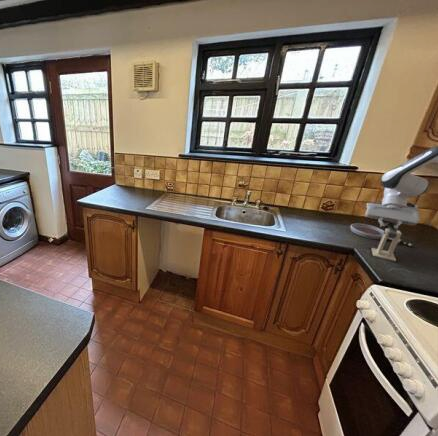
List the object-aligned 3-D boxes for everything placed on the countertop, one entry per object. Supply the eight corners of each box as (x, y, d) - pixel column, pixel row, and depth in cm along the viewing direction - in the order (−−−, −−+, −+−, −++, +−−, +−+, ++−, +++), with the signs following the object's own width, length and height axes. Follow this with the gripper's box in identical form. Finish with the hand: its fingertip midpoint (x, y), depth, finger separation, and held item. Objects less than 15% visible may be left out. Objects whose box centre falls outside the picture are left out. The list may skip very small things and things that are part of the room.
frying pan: (410, 247, 126) (346, 226, 146) (407, 252, 127) (344, 231, 148) (416, 238, 135) (356, 220, 156) (414, 243, 137) (354, 224, 157)
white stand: (371, 249, 127) (381, 225, 122) (391, 254, 123) (402, 229, 118) (373, 257, 120) (384, 232, 115) (395, 262, 116) (407, 236, 110)
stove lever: (382, 226, 128) (385, 220, 127) (391, 228, 126) (394, 222, 125) (386, 237, 118) (389, 231, 116) (396, 239, 116) (399, 233, 114)
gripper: (369, 198, 132) (364, 220, 128) (422, 206, 121) (419, 230, 117) (365, 204, 137) (360, 225, 133) (416, 212, 126) (412, 235, 122)
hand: (388, 227), depth 125 cm, fingers closed on stove lever, 3 cm apart
